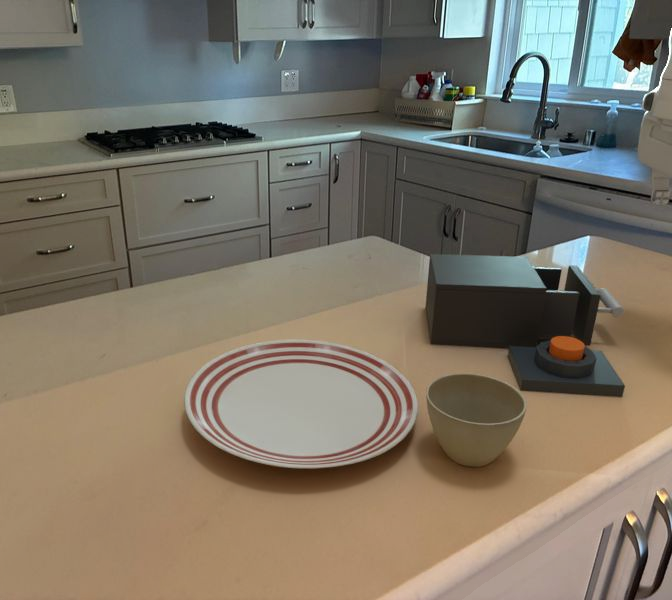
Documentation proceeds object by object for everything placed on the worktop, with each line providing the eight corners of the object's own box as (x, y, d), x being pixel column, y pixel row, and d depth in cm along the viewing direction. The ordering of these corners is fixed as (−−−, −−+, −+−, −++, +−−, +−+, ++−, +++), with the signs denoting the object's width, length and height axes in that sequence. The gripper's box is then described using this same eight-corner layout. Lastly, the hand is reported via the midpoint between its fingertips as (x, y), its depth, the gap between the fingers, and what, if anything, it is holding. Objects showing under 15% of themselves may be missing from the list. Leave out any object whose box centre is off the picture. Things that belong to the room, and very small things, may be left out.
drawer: (597, 313, 96) (607, 266, 93) (623, 347, 86) (635, 296, 82) (478, 307, 99) (484, 262, 95) (490, 340, 88) (496, 290, 85)
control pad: (599, 361, 84) (604, 338, 83) (622, 397, 76) (628, 372, 74) (507, 356, 86) (510, 334, 84) (520, 390, 78) (524, 366, 76)
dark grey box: (518, 313, 99) (527, 256, 95) (536, 350, 87) (546, 288, 83) (425, 308, 101) (430, 253, 97) (430, 344, 89) (436, 283, 86)
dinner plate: (375, 349, 89) (376, 328, 87) (456, 473, 64) (459, 447, 62) (183, 367, 85) (181, 346, 84) (190, 506, 60) (187, 479, 59)
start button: (577, 348, 81) (579, 336, 80) (586, 363, 77) (588, 351, 77) (545, 346, 82) (547, 335, 81) (552, 361, 78) (555, 349, 77)
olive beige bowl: (525, 441, 68) (534, 385, 66) (506, 495, 61) (516, 435, 58) (436, 416, 73) (441, 363, 70) (408, 463, 65) (413, 407, 62)
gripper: (771, 113, 67) (736, 234, 73) (687, 94, 86) (664, 192, 91) (708, 114, 68) (678, 233, 74) (638, 95, 87) (618, 191, 92)
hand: (670, 210), depth 83 cm, fingers open, 6 cm apart
